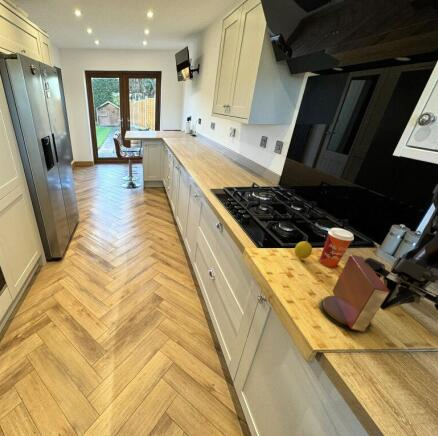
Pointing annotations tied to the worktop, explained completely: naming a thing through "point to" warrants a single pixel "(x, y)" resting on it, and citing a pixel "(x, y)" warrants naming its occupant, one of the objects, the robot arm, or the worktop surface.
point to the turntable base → (337, 321)
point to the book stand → (356, 295)
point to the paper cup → (335, 246)
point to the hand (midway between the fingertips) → (382, 308)
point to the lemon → (303, 250)
